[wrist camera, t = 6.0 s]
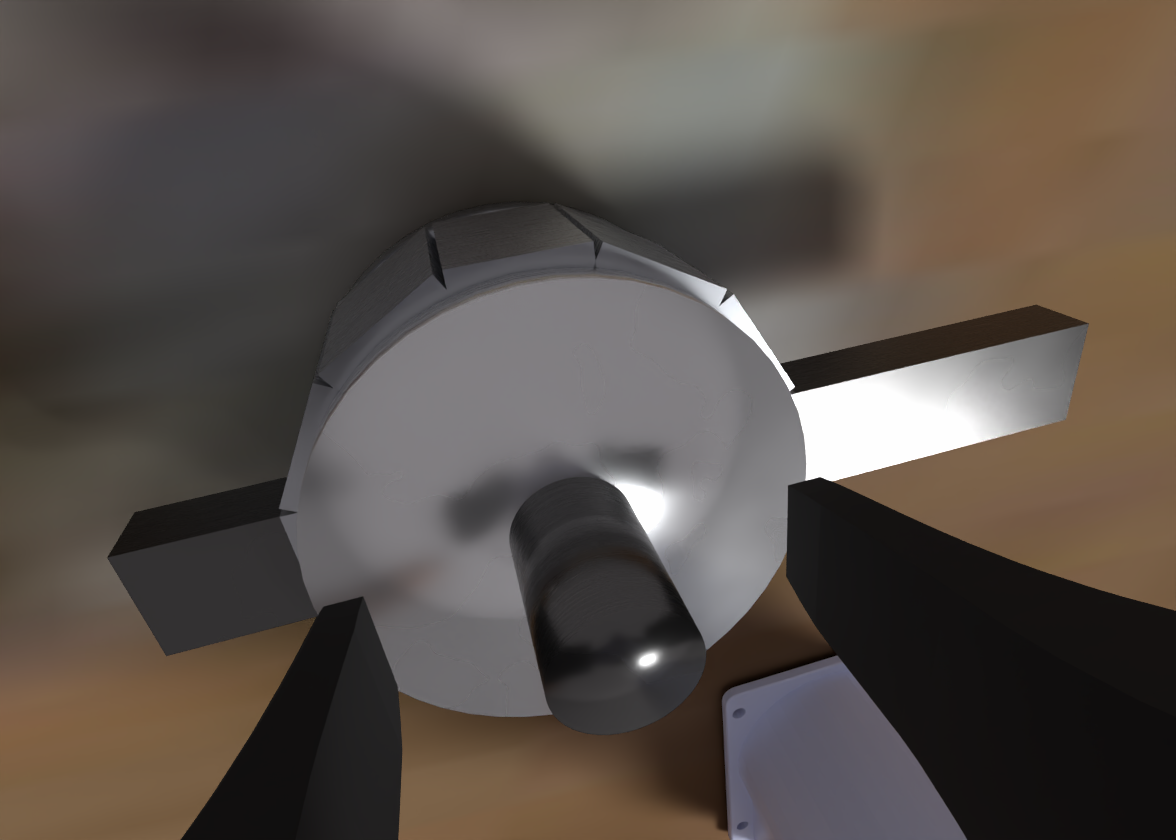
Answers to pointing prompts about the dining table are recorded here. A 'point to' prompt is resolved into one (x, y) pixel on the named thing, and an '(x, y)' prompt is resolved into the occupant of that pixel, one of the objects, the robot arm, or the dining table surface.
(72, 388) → the dining table surface
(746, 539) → the lid
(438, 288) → the pot
